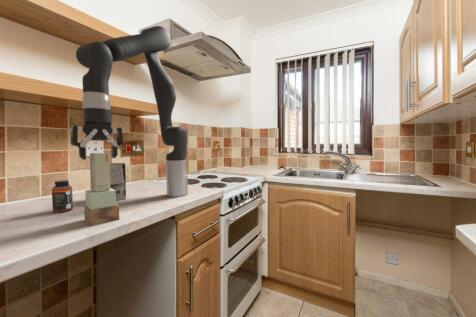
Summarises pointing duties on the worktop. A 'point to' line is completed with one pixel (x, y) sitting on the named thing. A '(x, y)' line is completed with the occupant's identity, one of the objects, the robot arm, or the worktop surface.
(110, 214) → the walnut block
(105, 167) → the skincare box
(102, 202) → the green block
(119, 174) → the coffee box
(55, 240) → the worktop surface
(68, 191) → the supplement bottle
